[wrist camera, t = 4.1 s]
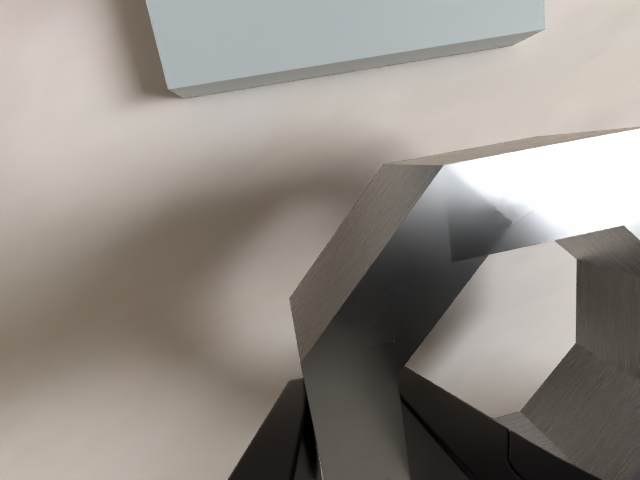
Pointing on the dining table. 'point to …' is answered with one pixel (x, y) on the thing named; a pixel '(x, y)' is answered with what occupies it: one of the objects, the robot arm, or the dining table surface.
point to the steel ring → (453, 274)
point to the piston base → (322, 37)
